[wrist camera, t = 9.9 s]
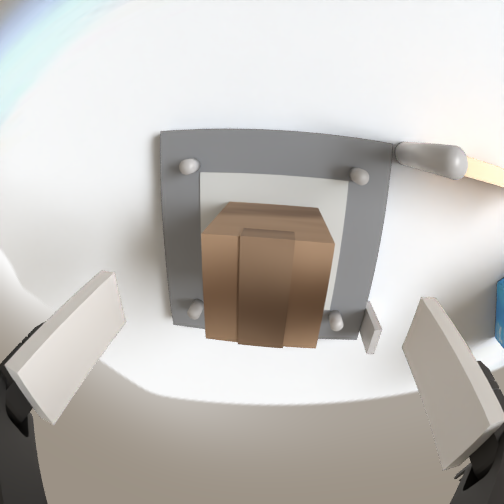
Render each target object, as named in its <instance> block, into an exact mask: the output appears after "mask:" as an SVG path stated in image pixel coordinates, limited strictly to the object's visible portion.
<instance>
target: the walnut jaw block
mask: <svg viewBox="0 0 504 504" xmlns="http://www.w3.org/2000/svg"><path fill="white" fill-rule="evenodd" d="M334 248H335V242H334V240H333V238H332V236H331V234H330V232H329V229H328V227H327V225H326V223H325V221H324V219H323V217H322V215H321V213H320V211H319V209H318V208H314V207H302V206H290V205H277V204H262V203H247V202H229V203H228V204H227V205H226V206H225V207H224V208H223V209H222V211H221V212H220V213H219V214H218V215H217V216H216V217H215V218H214V220H213V221H212V222H211V223H210V224H209V225H208V226H207V227H206V229H205V230H204V231H203V232H202V233H201V249H202V278H203V299H204V317H205V333H206V338H208V339H216V340H224V341H232V342H238V344H242V345H252V346H262V347H274V348H283V346H285V347H301V348H316V345H317V340H318V335H319V331H320V326H321V321H322V316H323V311H324V306H325V301H326V296H327V290H328V285H329V279H330V273H331V267H332V261H333V254H334Z"/></svg>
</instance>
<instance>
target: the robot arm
mask: <svg viewBox="0 0 504 504" xmlns="http://www.w3.org/2000/svg"><path fill="white" fill-rule="evenodd" d="M125 323H126V320H125V316H124V312H123V308H122V304H121V299H120V295H119V290H118V286H117V281H116V276H115V272H109V271H102V270H101V271H100V272H99V273H98V274H97V275H96V276H94V277H93V278H92V279H91V280H90V281H89V282H88V283H87V284H85V285H84V286H83V287H82V288H81V289H80V290H79V291H78V292H77V293H75V294H74V295H73V296H72V297H71V298H70V299H69V300H68V301H67V302H66V303H65V304H64V305H63V306H61V307H60V308H59V309H58V310H57V311H56V312H55V313H54V314H53V315H52V316H51V317H50V318H49V319H48V320H47V321H45V322H44V323H42V324H40V325H39V326H37V327H35V328H34V329H33V330H32V331H31V332H30V333H29V334H28V337H25V338H24V339H23V340H22V343H19V344H18V346H17V347H16V348H15V349H14V350H13V351H12V352H11V353H10V354H9V355H8V356H7V357H6V358H5V359H4V361H3V362H2V363H1V364H0V504H47V500H46V496H45V492H44V488H43V483H42V479H41V474H40V469H39V464H38V457H37V450H36V443H35V434H34V424H33V417H32V414H31V413H30V411H31V409H32V408H33V409H34V410H35V411H36V413H37V414H38V415H39V417H41V418H42V419H44V420H45V421H47V422H49V423H51V424H53V425H54V424H55V423H56V421H57V420H58V418H59V417H60V415H61V414H62V412H63V411H64V409H65V408H66V406H67V405H68V403H69V401H70V400H71V399H72V397H73V395H74V394H75V393H76V391H77V390H78V388H79V387H80V385H81V384H82V382H83V381H84V380H85V378H86V377H87V375H88V374H89V372H90V371H91V370H92V368H93V367H94V365H95V364H96V363H97V361H98V360H99V358H100V357H101V356H102V354H103V353H104V351H105V350H106V349H107V347H108V346H109V345H110V343H111V342H112V341H113V339H114V338H115V337H116V335H117V334H118V333H119V331H120V330H121V329H122V327H123V326H124V325H125ZM402 349H403V351H404V354H405V356H406V359H407V361H408V364H409V366H410V369H411V371H412V374H413V377H414V379H415V382H416V385H417V388H418V390H419V393H420V396H421V399H422V402H423V405H424V407H425V411H426V414H427V417H428V420H429V423H430V427H431V430H432V433H433V437H434V440H435V444H436V447H437V451H438V455H439V458H440V462H441V466H442V470H447V469H450V468H453V467H456V466H459V465H460V464H462V463H463V462H464V461H465V460H466V459H467V458H468V457H470V461H471V463H470V464H469V465H467V466H466V467H465V468H464V469H463V470H461V471H460V472H459V473H458V474H457V475H456V476H455V478H454V479H457V478H458V477H460V476H461V475H462V474H463V477H462V478H461V479H460V480H459V481H460V484H459V486H458V488H457V490H456V492H455V494H454V496H453V499H452V500H451V502H450V504H504V396H503V394H502V392H501V390H500V389H499V386H498V384H497V383H496V382H495V381H494V380H495V379H494V377H493V375H492V374H491V372H490V370H489V369H488V368H487V367H486V366H485V365H484V364H483V363H482V362H481V361H476V359H475V357H474V356H473V354H472V352H471V351H470V349H469V347H468V346H467V344H466V342H465V341H464V339H463V338H462V336H461V335H460V333H459V331H458V330H457V328H456V327H455V325H454V324H453V322H452V321H451V319H450V318H449V316H448V315H447V314H446V312H445V311H444V309H443V308H442V306H441V305H440V303H439V302H438V301H437V299H436V298H431V297H421V299H420V302H419V305H418V307H417V310H416V313H415V316H414V318H413V321H412V324H411V326H410V329H409V331H408V334H407V336H406V339H405V341H404V343H403V346H402Z"/></svg>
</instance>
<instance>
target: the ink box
mask: <svg viewBox="0 0 504 504" xmlns="http://www.w3.org/2000/svg"><path fill="white" fill-rule="evenodd" d="M495 338H496V339H497V341H498V342H499V343H500V344H501V346H502V347H503V348H504V278H503V279H502V280H500V281H498V282H497V302H496V323H495Z"/></svg>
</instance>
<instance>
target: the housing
mask: <svg viewBox="0 0 504 504" xmlns="http://www.w3.org/2000/svg"><path fill="white" fill-rule="evenodd" d="M392 148H393V144H391V143H385V142H380V141H374V140H367V139H361V138H354V137H346V136H339V135H330V134H321V133H310V132H298V131H283V130H263V129H193V130H173V131H161V134H160V156H161V195H162V215H163V231H164V244H165V256H166V267H167V277H168V286H169V294H170V303H171V310H172V318H173V325H180V326H187V327H194V328H202V329H205V317H204V299H203V278H202V249H201V233H202V232H203V231H204V230H205V229H206V227H207V226H208V225H209V224H210V223H211V222H212V221H213V220H214V218H215V217H216V216H217V215H218V214H219V213H220V212H221V211H222V209H223V208H224V207H225V206H226V205H227V204H228V203H229V202H247V203H262V204H277V205H290V206H302V207H314V208H318V209H319V211H320V213H321V215H322V217H323V219H324V221H325V223H326V225H327V227H328V229H329V232H330V234H331V236H332V238H333V240H334V242H335V248H334V254H333V261H332V267H331V273H330V279H329V285H328V290H327V296H326V301H325V306H324V311H323V316H322V321H321V326H320V331H319V335H318V339H346V340H357V337H358V334H359V331H360V334H361V337H362V341H363V344H364V347H365V350H366V354H374V352H375V349H376V346H377V343H378V340H379V338H380V335H381V332H382V328H381V326H380V323H379V321H378V319H377V316H376V314H375V312H374V310H373V307H372V305H371V303H370V301H368V297H369V293H370V288H371V284H372V280H373V276H374V271H375V266H376V262H377V257H378V252H379V246H380V241H381V236H382V230H383V224H384V218H385V211H386V204H387V197H388V189H389V180H390V171H391V161H392ZM395 156H396V159H397V161H398V162H399V163H400V164H402V165H404V166H408V167H412V168H416V169H420V170H423V171H427V172H430V173H434V174H437V175H441V176H444V177H447V178H450V179H454V180H459V179H461V178H462V177H463V176H464V175H465V174H466V172H467V168H468V160H467V156H466V154H465V152H464V151H463V150H462V149H461V148H460V147H458V146H453V145H443V144H431V143H417V142H401V143H399V144H398V145H397V147H396V149H395Z"/></svg>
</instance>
